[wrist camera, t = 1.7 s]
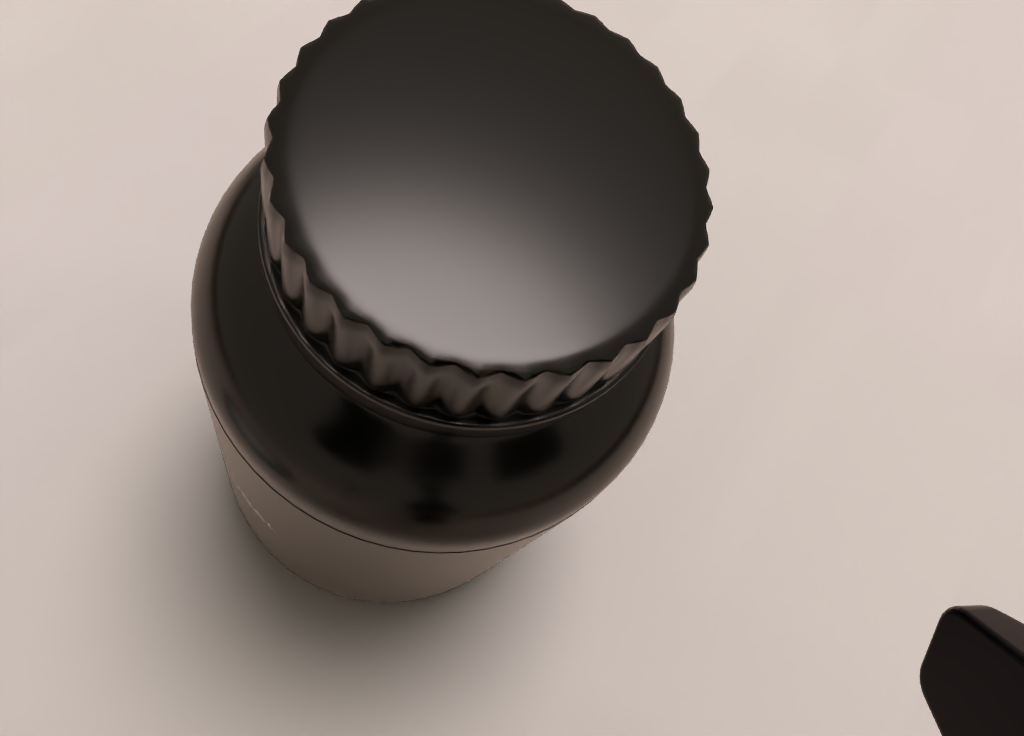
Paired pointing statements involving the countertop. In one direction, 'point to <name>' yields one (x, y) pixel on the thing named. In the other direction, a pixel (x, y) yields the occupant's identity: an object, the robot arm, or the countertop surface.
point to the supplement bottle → (445, 288)
